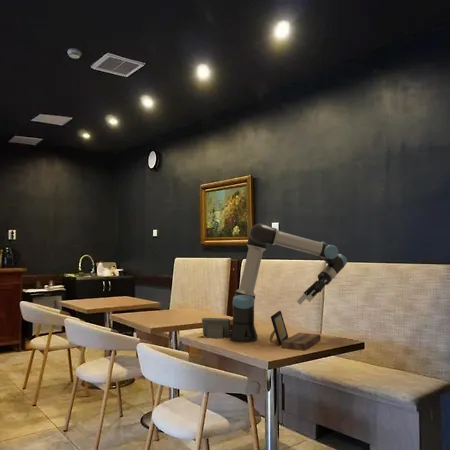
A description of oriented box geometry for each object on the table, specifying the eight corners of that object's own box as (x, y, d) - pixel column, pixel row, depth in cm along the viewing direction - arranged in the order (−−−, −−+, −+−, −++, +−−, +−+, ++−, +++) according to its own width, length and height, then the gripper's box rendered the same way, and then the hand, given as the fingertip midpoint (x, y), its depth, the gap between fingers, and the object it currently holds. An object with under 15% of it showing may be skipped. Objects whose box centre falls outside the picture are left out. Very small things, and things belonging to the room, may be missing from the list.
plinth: (281, 347, 217) (281, 341, 217) (299, 338, 241) (299, 332, 242) (304, 350, 211) (304, 344, 211) (320, 340, 236) (320, 334, 236)
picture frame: (281, 345, 221) (277, 315, 223) (264, 346, 224) (260, 317, 225) (288, 337, 243) (285, 310, 245) (272, 338, 246) (269, 311, 247)
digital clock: (232, 336, 246) (232, 317, 247) (226, 339, 238) (226, 319, 239) (206, 334, 252) (206, 315, 253) (199, 337, 244) (199, 318, 245)
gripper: (341, 277, 237) (317, 304, 230) (322, 283, 261) (299, 308, 254) (331, 267, 238) (307, 293, 231) (313, 274, 261) (290, 299, 254)
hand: (303, 301), depth 242 cm, fingers open, 13 cm apart
